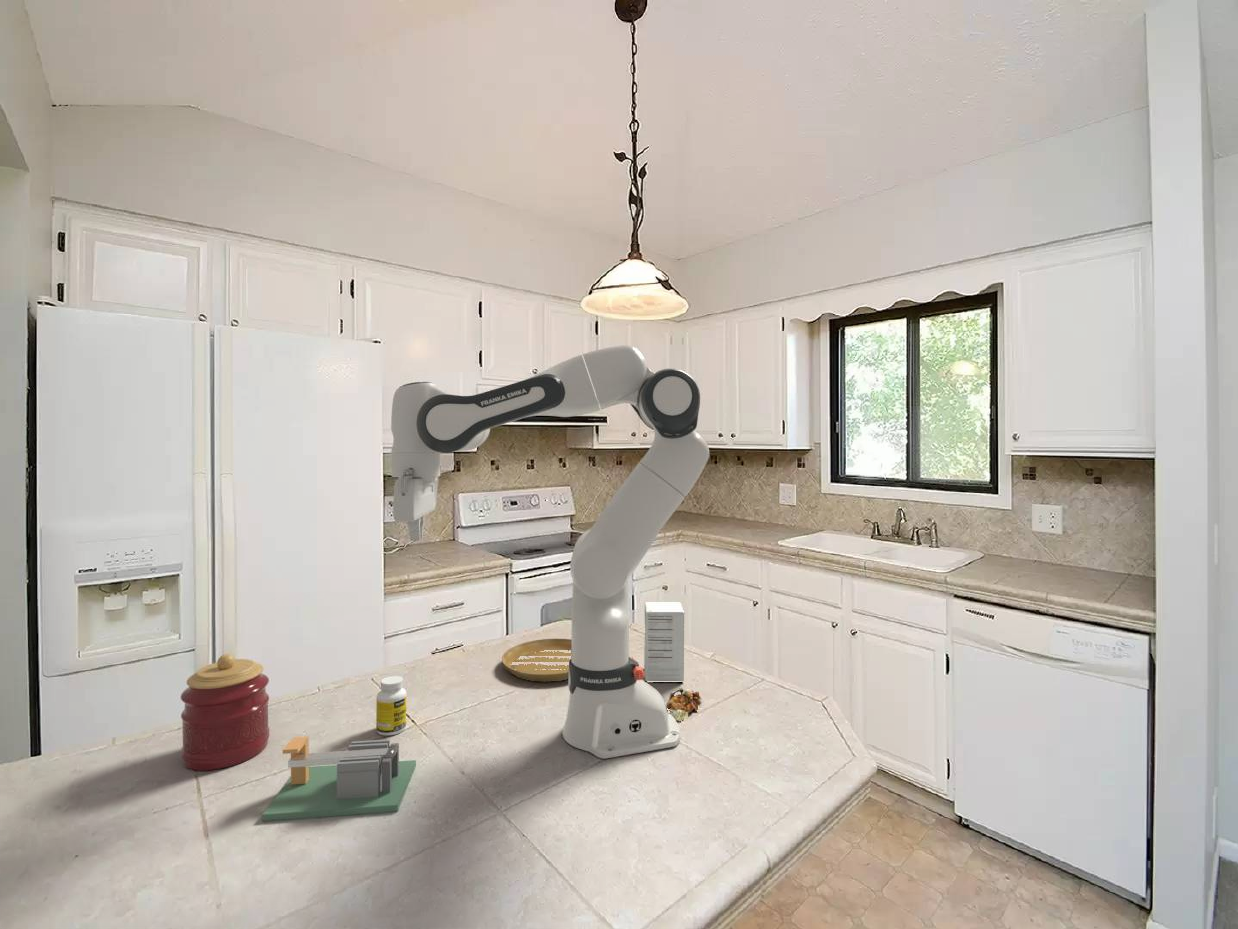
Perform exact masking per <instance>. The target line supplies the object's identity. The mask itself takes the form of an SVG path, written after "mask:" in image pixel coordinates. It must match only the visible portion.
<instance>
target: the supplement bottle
mask: <svg viewBox="0 0 1238 929" xmlns="http://www.w3.org/2000/svg"><path fill="white" fill-rule="evenodd" d="M403 682H404V680H403V677H402V676H397V675H391V676H388V677H387V676H386V677H384V678H382V679H381V680H380V690H379V691H378V692H377V695H376V722H375V723H376V724H375V725H376V728H375V729H376V733H377V734H378V735H380V736H383V737H384V736H385V737H389V736H395V735H398V734H400V733H402V732H404V730H406V728H407V691H406V689H405V688H404V687H403V685H404V683H403Z"/></svg>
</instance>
